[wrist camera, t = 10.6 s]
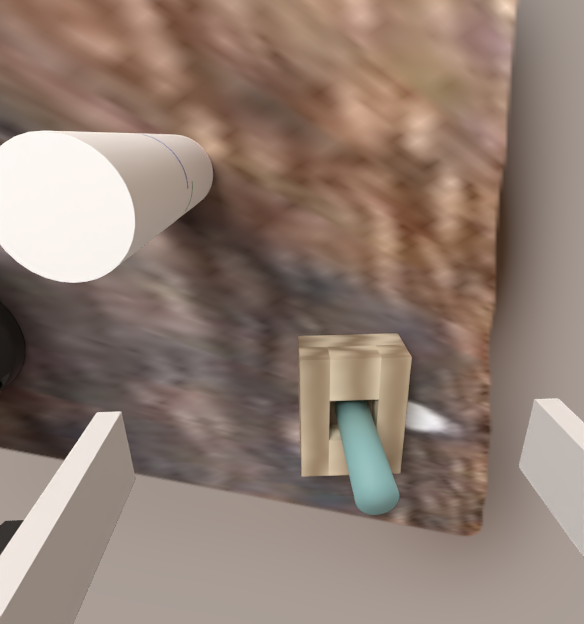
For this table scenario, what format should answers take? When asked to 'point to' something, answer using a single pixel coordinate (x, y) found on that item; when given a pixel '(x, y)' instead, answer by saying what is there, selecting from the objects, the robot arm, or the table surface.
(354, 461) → the pin
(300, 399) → the block
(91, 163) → the cylindrical container
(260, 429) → the table surface
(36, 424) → the table surface
